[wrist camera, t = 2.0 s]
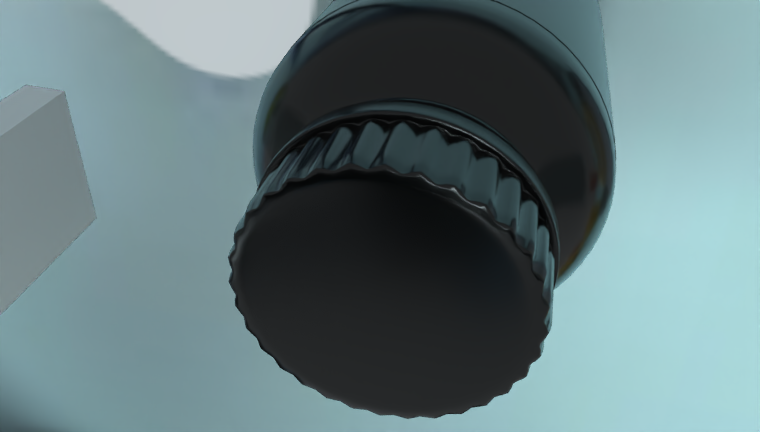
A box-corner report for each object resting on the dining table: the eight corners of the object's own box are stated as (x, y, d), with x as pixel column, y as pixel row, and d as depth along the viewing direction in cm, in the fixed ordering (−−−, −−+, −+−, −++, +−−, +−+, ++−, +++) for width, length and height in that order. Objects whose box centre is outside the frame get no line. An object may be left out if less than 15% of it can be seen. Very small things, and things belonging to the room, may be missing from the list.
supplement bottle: (599, 135, 21) (615, 491, 11) (376, 138, 22) (223, 446, 13) (609, -118, 17) (646, 87, 7) (340, -91, 19) (89, 103, 9)
